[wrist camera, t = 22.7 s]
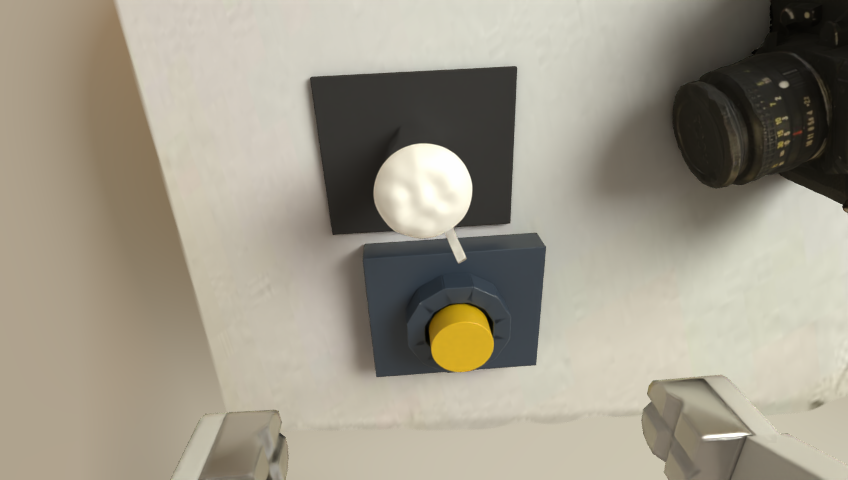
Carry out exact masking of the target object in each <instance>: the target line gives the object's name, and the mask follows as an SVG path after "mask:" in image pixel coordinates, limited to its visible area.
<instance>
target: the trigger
mask: <svg viewBox="0 0 848 480" xmlns="http://www.w3.org/2000/svg"><path fill="white" fill-rule="evenodd" d="M429 336H430V345H431V353H432V356H433V358H434V360H435V361H436V363H437V364H438V365H440V366H441V367H443V368H444V369H447V370H449V371H454V372H466V371H471V370H474V369H476V368H478V367H480V366H482V365H483V364H484V363H485V362H486V361H487V360H488V359H489V358H490V356H491V354H492V352H493V348H494V341H493V337H492V334H491V330H490V327H489V324H488V321H487V318H486V316H485V315H484V313H483V312H482V311H481V310H479V309H478V308H476V307H474V306H472V305H468V304H453V305H449V306H447V307H445V308H443V309H441V310H440V311H438V312H437V313H436V314H435V315H434V317H433V318H432V320H431V322H430V325H429Z"/></svg>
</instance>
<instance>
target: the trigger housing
mask: <svg viewBox="0 0 848 480" xmlns="http://www.w3.org/2000/svg"><path fill="white" fill-rule="evenodd" d="M458 240H459V242H460V244H461V247H462V249H463V251H464V253H465V255H466V258H467V259H466V260H465V261H463V262H461V263H458V262H457V260H456V258H455V256H454V253H453V251H452V249H451V247H450V244H449V242H448V240H447V239H435V240H420V241H405V242H389V243H374V244H365V245H364V253H363V266H364V275H365V284H366V292H367V301H368V310H369V318H370V327H371V336H372V344H373V353H374V362H375V370H376V377H385V376H398V375H411V374H425V373H438V372H447V373H450V372H454V371H449V370H447V369H444V368H443V367H441V366H440V365H438V364H437V363H436V361H435V360H434V358H433V356H432V353H431V345H430V336H429V325H430V322H431V320H432V318H433V317H434V315H435V314H436V313H437V312H438V311H440V310H441V309H443V308H445V307H447V306H449V305H453V304H468V305H472V306H474V307H476V308H478V309H479V310H481V311H482V312H483V313H484V315H485V316H486V318H487V321H488V324H489V327H490V330H491V334H492V337H493V341H494V348H493V352H492V354H491V356H490V358H489V359H488V360H487V361H486V362H485V363H484V364H483V365H482V366H480V367H478V368H476V369H474V370H478V369H491V368H504V367H517V366H531V365H536V360H537V348H538V336H539V324H540V312H541V300H542V289H543V277H544V265H545V253H546V246H545V245H544V243H543V242H542V240H541V239H540V237H539V236H538V234H537V233H528V234H512V235H497V236H482V237H466V238H458ZM471 371H472V370H471Z"/></svg>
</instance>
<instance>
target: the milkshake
mask: <svg viewBox="0 0 848 480" xmlns="http://www.w3.org/2000/svg"><path fill="white" fill-rule="evenodd" d="M471 198H472V181H471V178H470V175H469V172H468V170H467V168H466V166H465V165H464V163H463V162H462V161H461V159H460V158H459V157H458V156H457V155H456V154H455V153H454V152H453V151H452V150H451V149H450V148H449V147H448V146H447V145H446V144H445V143H444V141H443V140H442V139H441V138H440V136H439V135H438V134H437V132H436V131H435V130H434V129H433V128H431V127H429V126H426V125H424V124H421V123H419V122H415V123H412V124H408V125H404V126H401V127H400V128H399V130H398V131H397V132H396V133H395V135H394V136H393V137H392V138H391V140H390V142H389V145H388V149H387V152H386V155H385V158H384V161H383V163H382V165H381V168H380V170H379V172H378V174H377V177H376V180H375V184H374V201H375V205H376V208H377V210H378V212H379V214H380V215H381V217H382V218H383V220H384V221H385V222H386V224H387V225H388V226H389V227H390V228H391V229H393V230H394V231H396V232H398V233H401V234H404V235H407V236H410V237H414V238H420V239H425V238H431V237H435V236H438V235H441V234H443V233H445V235H446V237H447V240H448V242H449V244H450V247H451V249H452V251H453V253H454V256H455V258H456V260H457V262H458V263H461V262H463V261H465V260H466V259H467V258H466V255H465V253H464V251H463V249H462V247H461V244H460V242H459V240H458V238H457V236H456V234H455V231H454V229H453V227H454V226H456V225H457V224H458V223H459V222H460V221H461V220H462V219H463V217H464V216H465V215H466V213H467V211H468V209H469V206H470V203H471Z"/></svg>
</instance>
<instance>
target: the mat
mask: <svg viewBox="0 0 848 480" xmlns="http://www.w3.org/2000/svg"><path fill="white" fill-rule="evenodd" d="M310 80H311V87H312V94H313V101H314V108H315V115H316V122H317V129H318V136H319V143H320V150H321V157H322V163H323V170H324V177H325V184H326V191H327V198H328V205H329V212H330V219H331V226H332V233H333V235H336V234H352V233H367V232H383V231H394V230H393V229H391V228H390V227H389V226H388V225H387V224H386V222H385V221H384V220H383V218H382V217H381V215H380V214H379V212H378V210H377V208H376V205H375V201H374V184H375V180H376V177H377V174H378V172H379V170H380V168H381V165H382V163H383V161H384V158H385V155H386V152H387V149H388V145H389V142H390V140H391V138H392V137H393V136H394V135H395V133H396V132H397V131H398V130H399V128H400V127H401V126H404V125H408V124H412V123H415V122H419V123H421V124H424V125H426V126H429V127H431V128H433V129H434V130H435V131H436V132H437V134H438V135H439V136H440V138H441V139H442V140H443V141H444V143H445V144H446V145H447V146H448V147H449V148H450V149H451V150H452V151H453V152H454V153H455V154H456V155H457V156H458V157H459V158H460V159H461V161H462V162H463V163H464V165H465V166H466V168H467V170H468V172H469V175H470V178H471V181H472V198H471V203H470V206H469V209H468V211H467V213H466V215H465V216H464V217H463V219H462V220H461V221H460V222H459V223H458V224H457V225H456V226H454V227H461V226H476V225H492V224H508V223H510V216H511V194H512V171H513V148H514V126H515V103H516V80H517V67H515V66H512V67H493V68H473V69H454V70H435V71H415V72H396V73H376V74H357V75H338V76H318V77H311V78H310Z"/></svg>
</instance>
